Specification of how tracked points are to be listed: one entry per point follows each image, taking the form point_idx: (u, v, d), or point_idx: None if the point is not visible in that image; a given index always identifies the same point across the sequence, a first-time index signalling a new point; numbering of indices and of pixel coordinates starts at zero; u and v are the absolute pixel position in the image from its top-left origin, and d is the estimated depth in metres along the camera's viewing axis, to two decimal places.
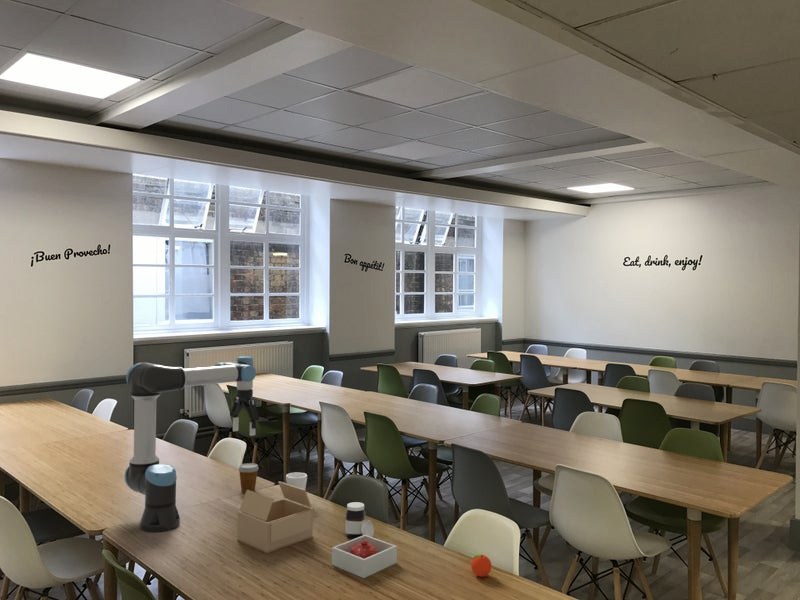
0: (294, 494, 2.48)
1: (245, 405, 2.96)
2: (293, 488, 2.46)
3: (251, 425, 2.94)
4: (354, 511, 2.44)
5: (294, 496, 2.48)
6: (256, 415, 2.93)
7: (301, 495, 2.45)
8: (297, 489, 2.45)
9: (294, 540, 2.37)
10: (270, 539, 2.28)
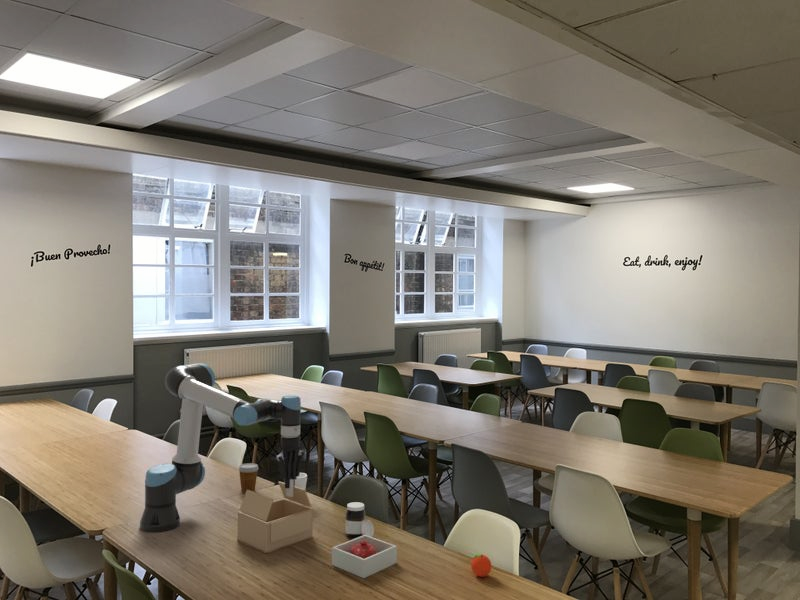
0: (294, 494, 2.48)
1: None
2: (293, 488, 2.46)
3: None
4: (354, 511, 2.44)
5: (294, 496, 2.48)
6: (282, 474, 2.42)
7: (301, 495, 2.45)
8: (297, 489, 2.45)
9: (294, 540, 2.37)
10: (270, 539, 2.28)
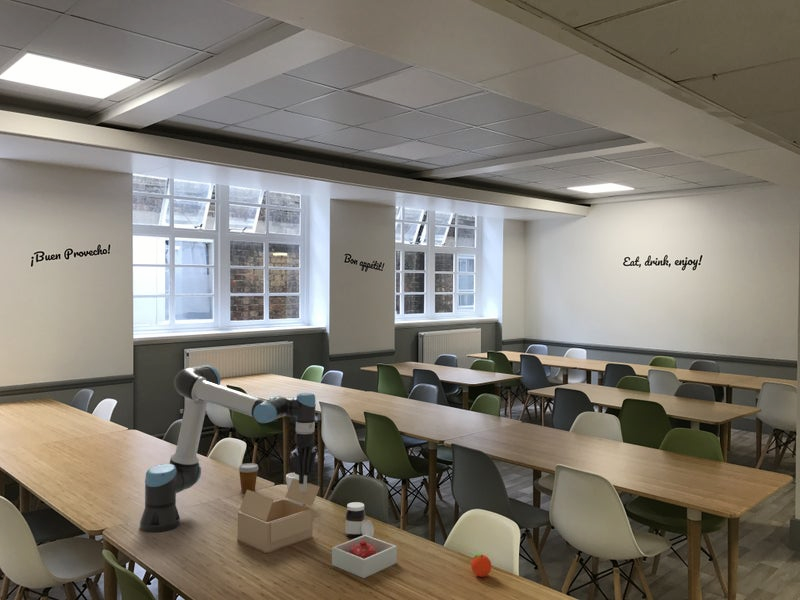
0: (301, 492, 2.51)
1: None
2: None
3: None
4: (354, 511, 2.44)
5: (300, 494, 2.51)
6: (296, 469, 2.47)
7: (310, 492, 2.48)
8: (311, 485, 2.50)
9: (294, 540, 2.37)
10: (270, 539, 2.28)
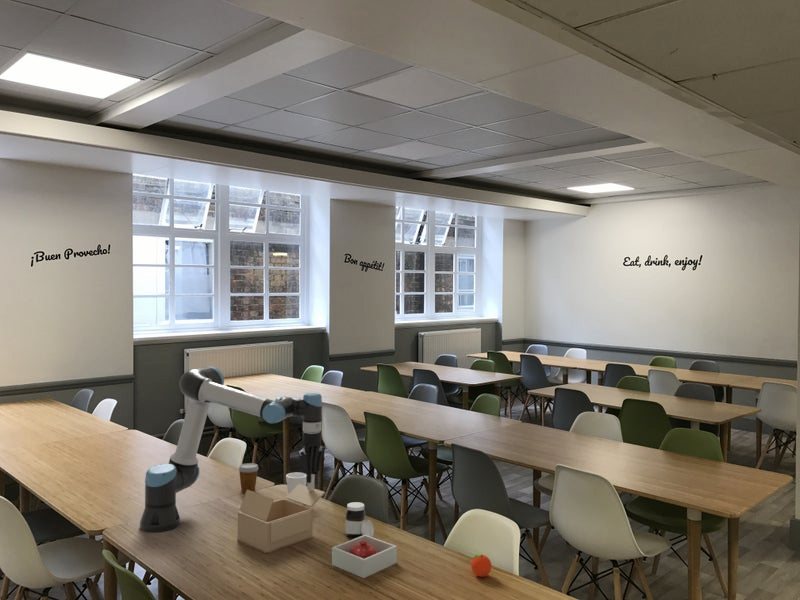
0: (304, 495, 2.52)
1: None
2: None
3: None
4: (354, 511, 2.44)
5: (303, 496, 2.52)
6: (303, 468, 2.50)
7: (314, 496, 2.50)
8: (316, 490, 2.52)
9: (294, 540, 2.37)
10: (270, 539, 2.28)
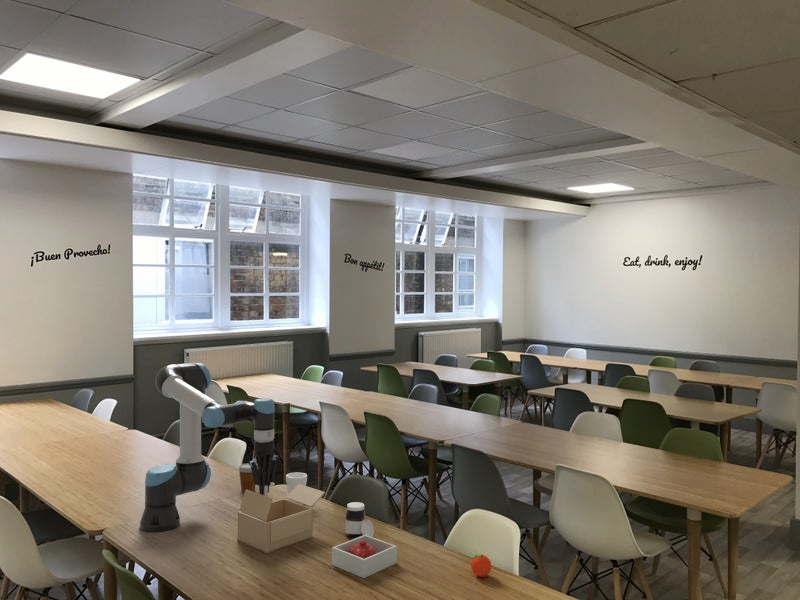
0: (304, 495, 2.52)
1: None
2: (311, 489, 2.54)
3: None
4: (354, 511, 2.44)
5: (303, 496, 2.52)
6: (255, 480, 2.33)
7: (314, 496, 2.50)
8: (316, 490, 2.52)
9: (294, 540, 2.37)
10: (270, 539, 2.28)
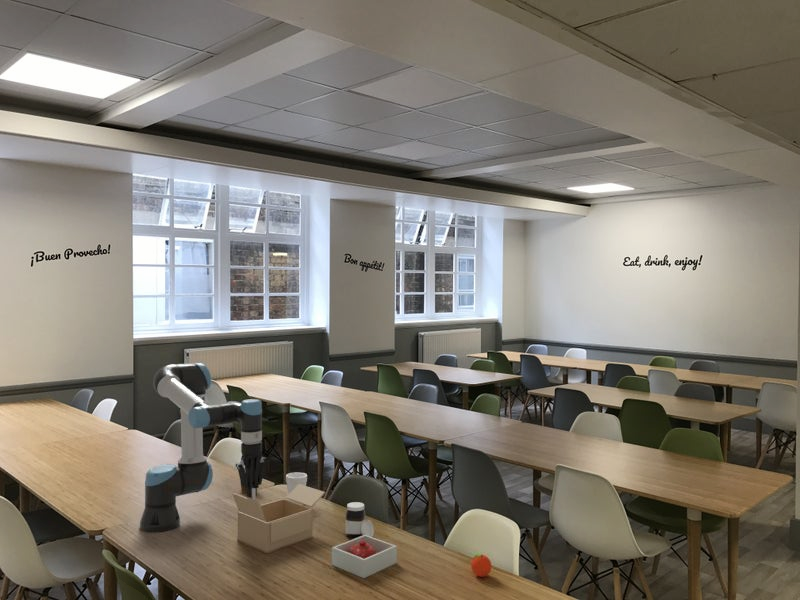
0: (304, 495, 2.52)
1: None
2: (311, 489, 2.54)
3: None
4: (354, 511, 2.44)
5: (303, 496, 2.52)
6: (243, 482, 2.28)
7: (314, 496, 2.50)
8: (316, 490, 2.52)
9: (294, 540, 2.37)
10: (270, 539, 2.28)
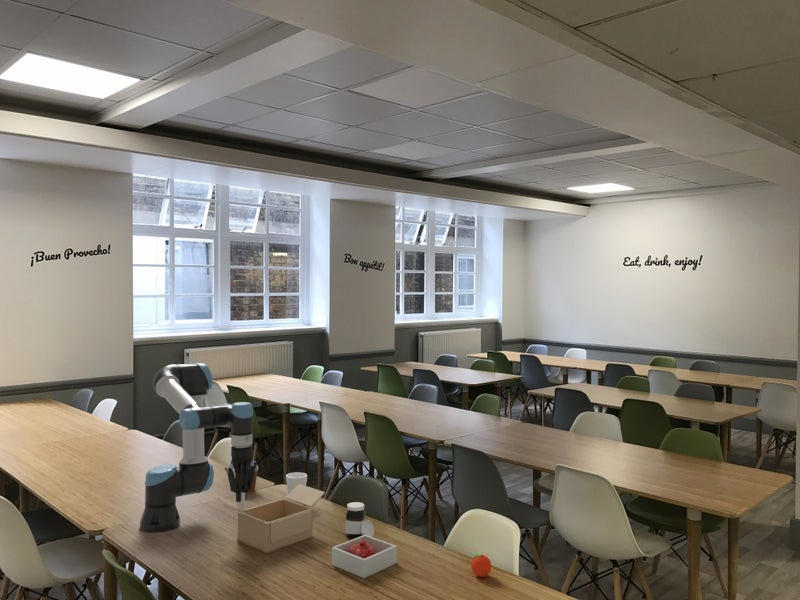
0: (304, 495, 2.52)
1: None
2: (311, 489, 2.54)
3: None
4: (354, 511, 2.44)
5: (303, 496, 2.52)
6: (232, 486, 2.25)
7: (314, 496, 2.50)
8: (316, 490, 2.52)
9: (294, 540, 2.37)
10: (270, 539, 2.28)
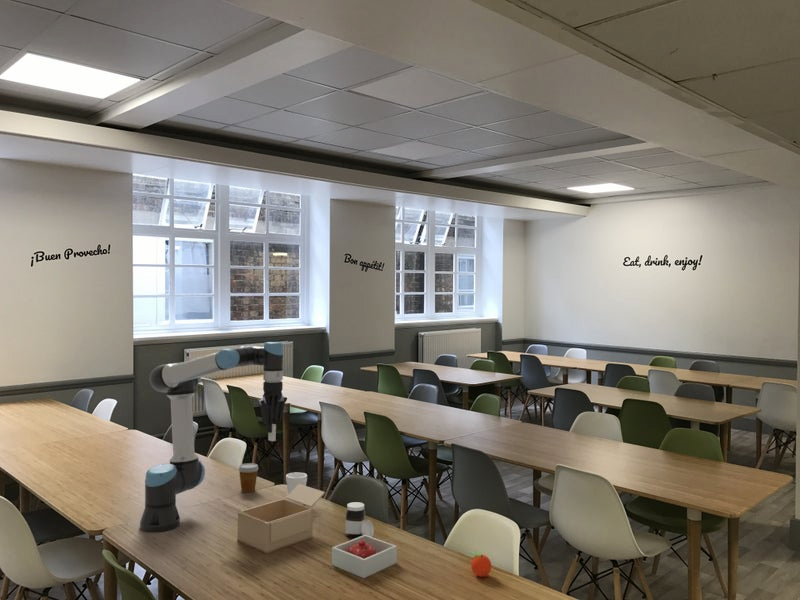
0: (304, 495, 2.52)
1: None
2: (311, 489, 2.54)
3: None
4: (354, 511, 2.44)
5: (303, 496, 2.52)
6: (264, 418, 2.45)
7: (314, 496, 2.50)
8: (316, 490, 2.52)
9: (294, 540, 2.37)
10: (270, 539, 2.28)
